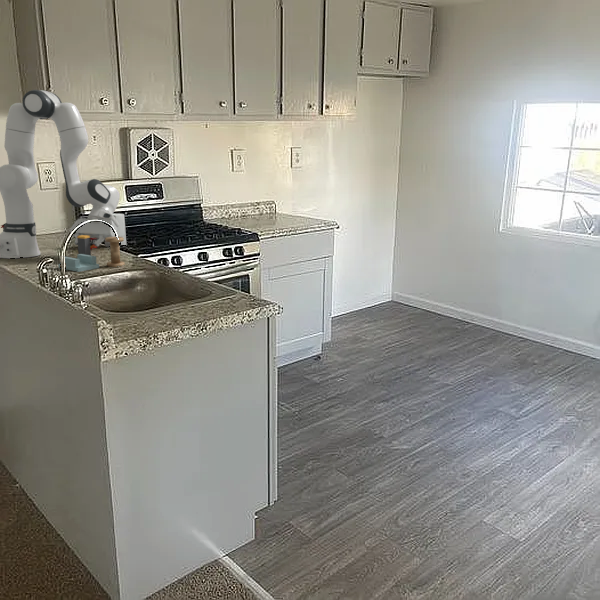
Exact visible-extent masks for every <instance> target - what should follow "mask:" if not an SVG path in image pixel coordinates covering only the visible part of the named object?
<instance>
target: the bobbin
mask: <svg viewBox="0 0 600 600" xmlns="http://www.w3.org/2000/svg"><path fill="white" fill-rule="evenodd" d="M118 238H119V240H118V239H117V238H116V237H107V238H105V239H106V242H110V247H109V250H110V261H107V262H106V267H107V266H108V267H107V268H118V267H117V266H122V265H125V266H126V264H125V261H122V260H121V251H120V249H121V247H120V246H119V242H122V241H124V238H123V237H118Z"/></svg>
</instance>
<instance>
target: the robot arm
mask: <svg viewBox="0 0 600 600" xmlns="http://www.w3.org/2000/svg"><path fill="white" fill-rule="evenodd" d="M45 119H46V120H47V119H48V120H49V119H51V120H52V121H53V122H54V124H55V126H56V129H57V132H58V136H59V139H60V140H59V141H60V150H59V156H60V157H59V158H60V163H61V169H62V172H63V178H64V181H65V182H64V184H65V196H66V200H67V201H68V202H69V203H70V204H71V205H72V206H73V207H75V208H82V207H84V206H87V205H90V204H91V205H92V208H91V210H90V211H89V214H88V216H87V217H79V218H78V219H76V220H75V222H74V223H73V224H72V226H71V227H70V229H69V230H70V231H69V232H70V233H71V232H72V230H73V229H74V228H75V227H76V226H77V225H78V224H80V223H81V222H83V221H86V220H92V219H98V220H102V221H105V222H107V223H109V224H110V225H112V226H113V227H114V229H115V230H116V232H117V227H118V226H119V223H118V221H117V220H116V219H115V217H114V216H113V215H112V214H114V212H115V211H116V210H117V207H118V205H119V202H120V198H121V195H120V194H121V193H120V192H119V191H120V190H118V189H117V188H116V187H114V186H112V185H107V184H104V183H103V182H102V181H101V180H99V179H95V178H93V179H87V180H85V181H81V180H80V176H79V171H78V166H77V161H78V158H79V157H80V155H81V153H82V152H83V151H84V150H85V149H86V148H87V146H88V145H89V135H88V131H87V128H86V125H85V122H84V120H83V117H82V115H81V112H80V111H79V109H78V107H77V105H75V104H74V103H73V102H67V101H65V102H62V100H61V98H60V97H59V96H58V95H57V94H56V93H54V92H52V91H47V90H43V89H32V90H31V89H30V90H29V91H27V92H26V93H25V94H24V95H23V97H22V102H15V103H13V104H11V105H10V106H9V110H8V112H7V117H6V123H5V133H4V134H5V135H4V150H5V151H6V155H7V160H8V163H7V164H3V165H1V166H0V195H1V197H2V201H3V206H4V212H5V222H4V223H3V224H1V225H0V229H2V232H0V259H10V258H15V259H21V258H20V257H23V258H31V257H38V256H40V255H41V251H40V248H39V244H38V240H37V226H36V222H35V217H34V205H33V202H32V201H31V200H30V197H29V194H28V191H27V190H28V189H30V188H32V187H34V186H35V185H36V184H37V182H38V180H39V174H38V172H37V170H36V166H35V165H36V164H35V155H34V147H35V146H34V145H35V135H36V133H35V132H36V123H37V122H38V120H45ZM81 235H88V236H90V238H97V241H95V242H94V245H95V246H97V247H99V246H100V245H101V244H102V243H103V242H105V238H107V237H115V233H114V232H113V230H112V228H111V227H109V226H108V225H106V224H104V223H102V222H91V223H87V224H85V225H83V226H82V227H80V228H79V229H78V230H77V231H76V233H75V234H74V235H72V236H73V237H75V240H74V244H75V245H77V246H78V239H77V236H81Z"/></svg>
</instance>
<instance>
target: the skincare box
mask: <svg viewBox="0 0 600 600" xmlns="http://www.w3.org/2000/svg"><path fill="white" fill-rule="evenodd" d="M112 215H113V216H114V217H115V219H116V220H117V221H118V223H119V226H118V227H117V234H118V236H119V237H123V238H124V241H122V242H121V245H126V246H127V236H126V235H127V233H126V221H125V219H126V218H125V214H124V213H113V214H112ZM104 245H106V246H105V247H109V246H110V242H106V239H105V240H104Z"/></svg>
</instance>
